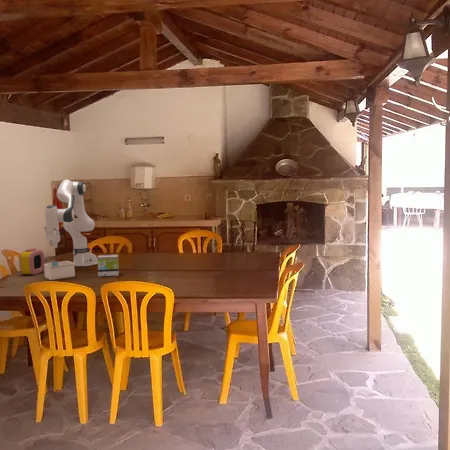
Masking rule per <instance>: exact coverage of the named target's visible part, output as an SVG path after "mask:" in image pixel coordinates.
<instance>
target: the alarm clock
mask: <svg viewBox="0 0 450 450" xmlns="http://www.w3.org/2000/svg"><path fill="white" fill-rule="evenodd" d="M18 264H19V265H18V266H19V271H20V273H21V274H22V275H24V276H25V275H34V276H35V275H38V274H40V273H42V272H43V271H44V264H45V253H44V252H43V250H42V249H37V248H36V247H30V248H28V249H27V248H26V250H24V251H21V252H20V254H19V256H18Z"/></svg>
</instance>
